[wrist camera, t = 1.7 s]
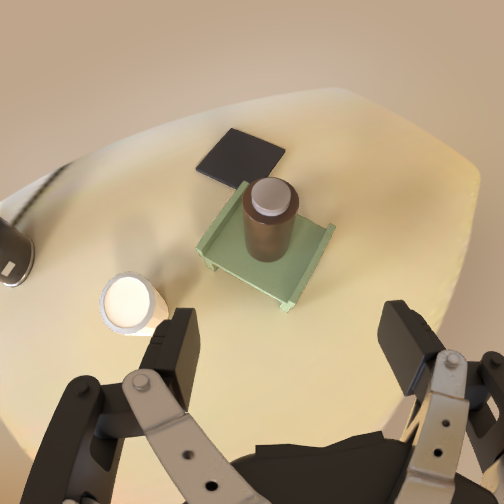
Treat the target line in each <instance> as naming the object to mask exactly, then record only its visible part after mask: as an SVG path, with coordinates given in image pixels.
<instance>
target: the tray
mask: <svg viewBox="0 0 504 504" xmlns="http://www.w3.org/2000/svg"><path fill="white" fill-rule="evenodd" d="M248 186H249V183H248V182H246V181H243V182H242V184H241V185H240V186H239V188H238V189H237V190H236V192H235V193H234V194H233V196H232V197H231V199H230V200H229V201H228V203H227V204H226V205H225V207H224V208H223V210H222V211H221V212H220V214H219V215H218V216H217V218H216V219H215V221H214V222H213V223H212V225H211V226H210V228H209V229H208V231H207V232H206V233H205V235H204V236H203V238H202V239H201V240H200V242H199V243H198V245H197V246H196V250H197V252H198V254H199V256H200V257H202V258H203V259H204V261H205V263H206V265H207V267H208V268H210V269H211V270H213V271H216V269H217V268H218V267H219V268H221V269H223V270H225V271H226V272H228V273H230V274H231V275H233V276H235V277H237V278H238V279H240V280H242V281H244V282H246V283H247V284H249V285H251V286H253V287H254V288H256V289H258V290H260V291H262V292H263V293H265V294H267V295H269V296H270V297H272V298H274V299H276V300H278V301H279V302H281V305H280V307H279V308H280V309H282V310H283V311H285V312H287V313H288V312H289V310H290V309H291V308H294V306H295V305H296V303H297V301H298V299H299V297H300V296H301V294H302V292H303V290H304V288H305V286H306V284H307V283H308V281H309V279H310V277H311V275H312V273H313V271H314V269H315V267H316V266H317V264H318V262H319V260H320V258H321V256H322V254H323V252H324V250H325V248H326V246H327V244H328V242H329V240H330V238H331V236H332V234H333V232H334V230H335V228H336V226H334V225H332V224H329V226H328V228H327V229H325V228H323V227H321V226H319V225H317V224H315V223H313V222H312V221H310V220H308V219H306V218H304V217H302V216H300V215H298V214H297V215H296V219H295V223H294V227H293V231H292V235H291V239H290V242H289V246H288V249H287V252H286V253H285V255H284V256H283V257H282V258H280V259H279V260H277V261H274V262H269V263H266V262H261V261H258V260H256V259H254V258H253V257H252V256H251V255H250V254H249V253H248V251H247V248H246V243H245V231H244V219H243V207H242V197H243V193H244V191H245V190H246V188H247V187H248Z"/></svg>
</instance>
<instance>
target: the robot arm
mask: <svg viewBox="0 0 504 504" xmlns="http://www.w3.org/2000/svg"><path fill="white" fill-rule="evenodd" d="M33 261H34V245H33V242H32V240H31V239H30V238H29V237H27V236H26V235H24V234H22V233H21V232H20V231H18V230H17V229H16V228H14V227H13V226H12V225H10V224H9V223H8V222H6V221H5V220H4V219H3V218H1V217H0V282H2V283H4V284H6V285H7V286H10V287H16V286H18V285H20V284H21V283H22V282H23V281H24V280H25V279H26V278H27V276H28V274H29V272H30V270H31V268H32V265H33ZM377 336H378V342H379V344H380V346H381V348H382V350H383V352H384V354H385V356H386V358H387V360H388V362H389V364H390V366H391V368H392V370H393V372H394V375H395V377H396V379H397V381H398V383H399V385H400V387H401V389H402V391H403V394H404V396H410V395H414V394H415V395H416V397H417V398H416V399H415V401H414V403H413V407H412V409H411V412H410V416H409V418H408V421H407V423H406V426H405V429H404V431H403V434H402V436H401V438H400V440H394V439H386V438H384V437H383V434H382V431H377V432H372V433H367V434H362V435H357V436H352V437H350V438H347V439H345V440H342V441H340V442H337V443H335V444H332V445H329V446H326V447H310V446H301V445H293V444H277V445H255V447H256V453H254V454H249V455H246V456H243V457H240V458H238V459H236V460H234V461H232V462H230V463H229V462H228V461H227V460H226V458H225V457H224V456H223V455H222V454H221V452H220V451H219V450H218V449H217V448H216V446H215V445H214V444H213V443H212V442H211V440H210V439H209V438H208V437H207V435H206V434H205V433H204V432H203V430H202V429H201V428H200V426H199V425H198V424H197V422H196V421H195V420H194V419H193V417H192V416H191V415H190V414H189V413H185V412H188V407H189V402H190V397H191V392H192V387H193V382H194V377H195V372H196V367H197V362H198V358H199V353H200V334H199V328H198V322H197V316H196V310H195V308H176V310H175V312H174V315H173V317H172V320H167V319H164V320H163V321H162V322H161V323H160V324H159V325H158V326H157V327H156V329H155V331H154V333H153V337H152V338H151V340H150V344H149V345H148V347H147V350H146V352H145V355H144V357H143V359H142V362H141V364H140V367H139V369H138V370H135V371H132V372H131V373H129V374H128V375H127V376H126V377H125V378H124V380H123V382H122V383H117V384H108V385H100V383H99V381H98V380H97V379H96V378H95V377H92V376H89V375H83V376H79V377H76V378H74V379H73V380H72V381H71V382H70V383H69V384H68V385H67V387H66V389H65V391H64V393H63V395H62V397H61V399H60V401H59V404H58V406H57V408H56V410H55V412H54V414H53V417H52V419H51V421H50V423H49V426H48V428H47V430H46V433H45V435H44V437H43V440H42V442H41V445H40V447H39V450H38V452H37V455H36V457H35V460H34V463H33V465H32V468H31V471H30V474H29V477H28V479H27V482H26V485H25V488H24V492H23V495H22V498H21V501H20V504H110V503H111V498H112V493H113V488H114V483H115V478H116V474H117V469H118V465H119V460H120V456H121V452H122V448H123V444H124V440H125V438H128V437H137V436H146V438H147V440H148V442H149V444H150V445H151V447H152V449H153V451H154V452H155V454H156V456H157V457H158V459H159V461H160V462H161V464H162V465H163V467H164V469H165V470H166V472H167V473H168V475H169V476H170V478H171V480H172V481H173V483H174V484H175V486H176V487H177V488H178V490H179V491H180V493H181V494H182V496H183V497H184V498H185V500H186V501H185V502H184V503H183V504H504V356H502V355H501V354H499V353H497V352H494V351H490V352H486V353H485V354H484V355H483V357H482V359H481V361H480V362H473V361H472V362H471V361H466V359H465V357H464V356H463V355H462V354H460V353H459V352H457V351H454V350H446V348H445V347H444V346H443V344H442V343H441V341H440V340H439V339H438V337H437V336H436V334H435V333H434V332H433V330H432V331H431V328H430V326H429V325H427V322H426V321H425V320H424V318H423V317H422V316H421V315H420V314H418V313H417V312H415V311H414V310H410V308H409V307H408V306H407V304H406V303H405V302H404V301H403V300H393V301H386V302H385V304H384V307H383V311H382V315H381V319H380V323H379V327H378V333H377ZM491 396H492V398H493V399H494V401H495V403H496V405H497V407H498V409H499V418H498V420H497V421H496V419H495V417H494V415H493V413H492V412H491V410H490V408H489V406H488V404H487V401H488V400H489V398H490V397H491ZM465 430H466V432H467V435H468V437H469V439H470V442H471V444H472V447H473V449H474V452H475V454H476V457H477V460H478V462H479V465H480V468H481V470H482V473H483V477H482V484H481V485H478V484H476V483H475V482H473V481H471V480H469V479H467V478H466V477H464V476H462V475H460V474H458V473H457V472H456V469H457V466H458V461H459V457H460V454H461V449H462V445H463V440H464V435H465Z"/></svg>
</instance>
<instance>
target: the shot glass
mask: <svg viewBox="0 0 504 504" xmlns="http://www.w3.org/2000/svg"><path fill="white" fill-rule="evenodd" d="M99 302H100V314H101V316H102V318H103V320H104V323H105V324H106V325H107V326H108V327H109V328H110V329H111V330H112V331H114V332H117V333H120V334H123V335H140V336H149V335H153V333H154V331H155V329H156V327H157V326H158V325H159V324H160V323H161V322H162V321H163V320H164V319H167V320H168V317H169V312H168V306H167V304H166V302H165V301H164V299H163V298H162V296H161V295H160V294H159V293H158V292H157V290H156V289H155V288H154V287H153V286H152V284H151V283H150V282H149V281H148V280H147V279H146V278H144V277H143V276H142V275H141V274H138V273H134V272H125V273H120V274H118V275H116V276H115V277H113V278H112V279H110V280H109V281H108V283H107V284H106V286H105V287H104V288H103V290H102V294H101V297H100V301H99Z"/></svg>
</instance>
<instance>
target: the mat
mask: <svg viewBox="0 0 504 504" xmlns="http://www.w3.org/2000/svg"><path fill="white" fill-rule="evenodd" d="M284 153H285V149H283V148H280V147H278V146H276V145H273V144H271V143H268V142H266V141H264V140H261V139H259V138H256V137H254V136H251V135H249V134H246V133H243V132H241V131H238V130H235V129H233V128H231V129H230V130H229V131H228V132H227V133H226V134H225V135H224V137H223V138H222V139H221V140H220V141H219V142H218V143H217V144H216V145H215V147H214V148H213V149H212V150H211V151H210V152H209V153H208V155H207V156H206V157H205V158H204V159H203V160H202V162H201V163H200V164H199V165H198V166H197V167H196V171H198V172H200V173H203V174H205V175H207V176H209V177H211V178H213V179H216V180H218V181H220V182H222V183H224V184H226V185H228V186H231V187H233V188H235V189H238V188H239V186H240V185H241V184H242V182H243V181H246V182H248V183H249V185H250V184H251V183H252V182H254V181H256V180H258V179H261V178H266V177H267V176H268V175H269V174H270V172H271V171H272V169H273V168H274V167H275V165H276V164H277V162H278V161H279V160H280V158H281V157H282V155H283V154H284Z"/></svg>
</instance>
